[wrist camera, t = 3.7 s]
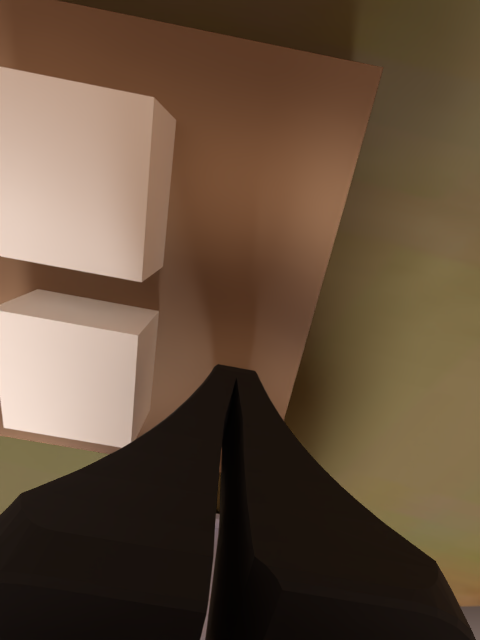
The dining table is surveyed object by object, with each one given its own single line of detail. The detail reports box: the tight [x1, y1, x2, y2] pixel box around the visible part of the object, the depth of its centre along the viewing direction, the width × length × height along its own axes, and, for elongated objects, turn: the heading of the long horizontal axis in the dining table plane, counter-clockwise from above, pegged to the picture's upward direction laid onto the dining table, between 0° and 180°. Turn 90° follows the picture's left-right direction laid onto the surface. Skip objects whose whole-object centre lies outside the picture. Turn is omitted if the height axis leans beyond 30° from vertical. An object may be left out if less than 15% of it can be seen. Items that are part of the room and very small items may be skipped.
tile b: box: [0, 67, 176, 282], centre depth 8 cm, size 4×4×2 cm
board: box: [0, 0, 383, 473], centre depth 12 cm, size 14×13×3 cm
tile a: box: [0, 289, 159, 448], centre depth 10 cm, size 4×4×2 cm
